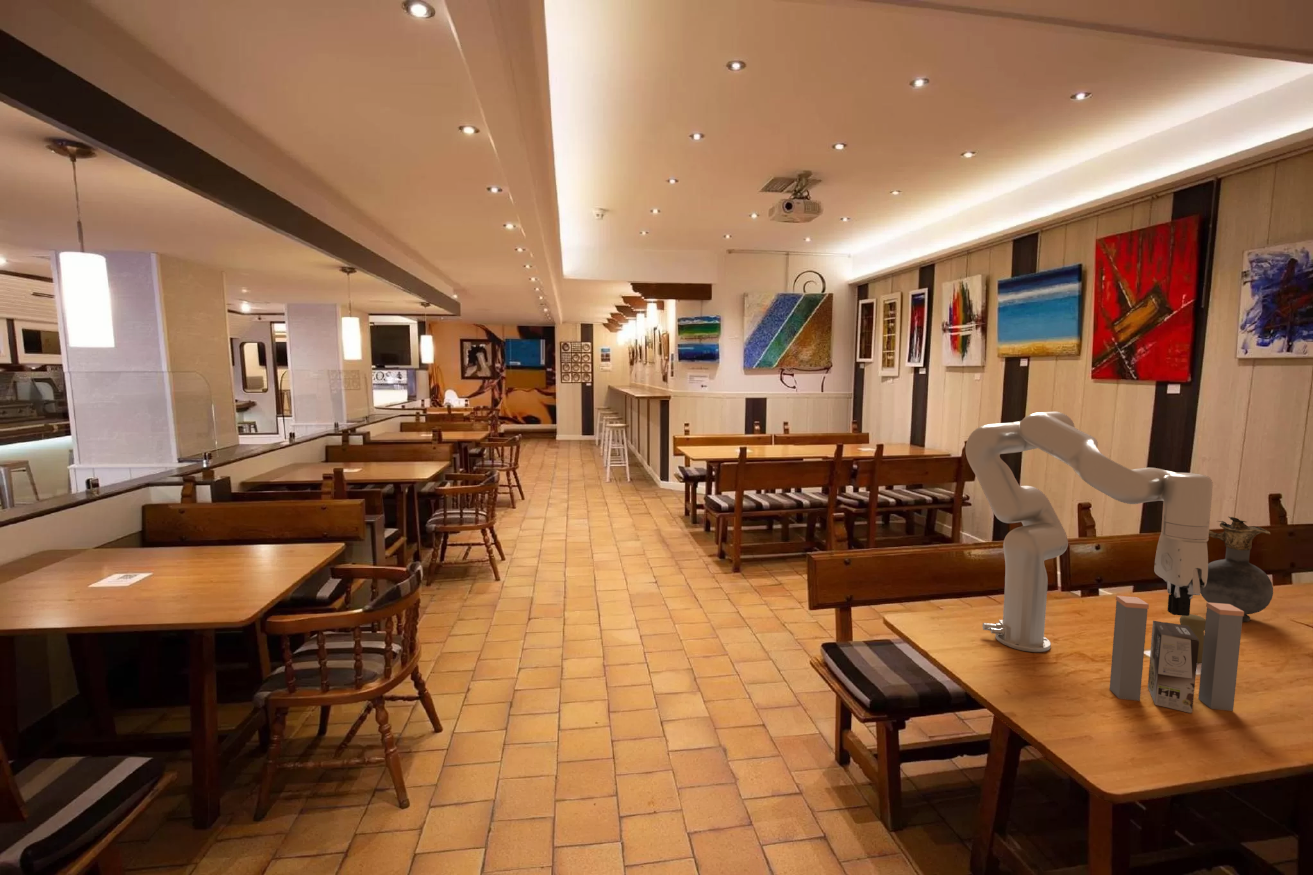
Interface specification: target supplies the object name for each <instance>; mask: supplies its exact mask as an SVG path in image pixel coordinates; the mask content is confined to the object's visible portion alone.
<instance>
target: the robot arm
mask: <svg viewBox="0 0 1313 875" xmlns="http://www.w3.org/2000/svg"><path fill="white" fill-rule="evenodd" d="M1098 446H1099V443H1098V439H1097V438H1096V437H1095V436H1092V435H1091V434H1088V433H1087V432H1084V431H1082V430H1080V429H1078V428H1076V426H1075V423H1074V421H1073V420H1072V419H1071V417H1070V416H1069V415H1067V414H1065V413H1063V412H1059V411H1041V412H1040V411H1039V412H1038V411H1037V412H1034V413H1031V414H1028V415H1026V416H1025V417H1024V418H1022V420H1019V421H1013V422H999V423H998V422H997V423H987V424H983V425H981V426H979V427H977V428H975V429H974V430H973V431H972V432H971V433H970V435H969V437H968V438H967V440H966V444H965V455H966V459H967V462H968V464H969V466H970V468H971V470H972V472H973V473H974V475H975V477H976V479H977V481H978V482H979V485H980V488H981V490H982V491H983V494H984V497H985V499H986V500H987V502H988V504H989V507H990V510H992V513H993V515H994V516H995V517H996V519H997V520H999V521H1000V522H1002V523H1005V524H1016V523H1021V524H1022V526H1019V527H1015V528H1013V529H1012V530H1010V531H1009V532H1008V533H1007V534H1006V535H1005V537H1004V539H1003V543H1002V544H1003V545H1002V548H1003V554H1004V555H1003V556H1004V561H1005V562H1004V565H1005V574H1004V575H1005V576H1004V594H1003V595H1004V596H1003V610H1002V613H1003V614H1002V619H998V622H995V623H990V622H989V623H988V622H982V624H981V625H982V630H983V631H990V633H991V634H995V635H994V636H995V639H996V640H997V641H998V642H999V643H1001V644H1003V646H1004V645H1005V646H1007V647H1009V648H1012V649H1014V650H1019V651H1024V652H1028V653H1029V652H1031V653H1042V652H1043V653H1044V652H1047V651H1049V650H1050V649H1051V648H1052V647H1051V644H1052V643H1051V641H1050V640H1049V639H1048V638H1047V637H1046V636H1045V628H1046V614H1047V612H1046V611H1047V595H1048V573H1047V569H1046V567H1045V561H1046V560H1047V561H1048V560H1050V559H1055V558H1057V557H1059V556H1061V555H1063V554H1064V553H1065V552H1066V551H1067V549H1068V546H1069V541H1068V536H1067V533H1066V531H1065V528H1064V526H1063V524H1062V522H1061V521H1060V519H1059V517H1058V515H1057V513H1056V511H1055V509H1054V507H1053V505H1052V503H1051V501H1050V500H1049V498H1048V497H1047V495H1046V494H1045V493H1044V492H1043V491H1041V490H1040V489H1039V488H1037V487H1035V486H1031V485H1020V484H1019V483H1018V481H1017V479H1016V478H1015V475H1014V473H1013V471H1012V469H1011V468H1010V466H1009V465H1008V464H1007V463H1006V462H1005V461H1004V460H1003V459H1002V458H1001V455H1004V454H1014V453H1020V452H1026V451H1030V450H1035V449H1038V450H1040V451H1042V452H1044V453H1046V454H1048V455H1050V456H1052V457H1053V458H1055V459H1057V460H1058V461H1060V462H1062V463H1064V464H1066V465H1068V466H1069V467H1070V468H1072V470H1073V471H1074V472H1075V474H1076V475H1078V476H1079V478H1080V479H1081V480H1083V482H1084V483H1086V484H1087V485H1090V487H1091V488H1094V489H1096V490H1097V491H1099V492H1101V493H1102V494H1104V495H1106V496H1108V497H1110V498H1112V499H1114V500H1116V501H1118V502H1121V503H1124V504H1129V505H1138V504H1144V503H1150V502H1158V501H1161V502H1162V503H1163V504H1162V517H1161V518H1162V520H1161V529H1160V530H1161V532H1160V534H1159V538H1158V542H1157V545H1156V550H1155V551H1156V553H1155V557H1154V558H1155V559H1154V567H1153V568H1154V569H1153V570H1154V573H1155V575H1156V576H1158V577H1159V578H1161V579H1163V581H1164V582H1166V584H1167V586H1166V587H1167V591H1166V592H1167V594H1168V600H1167V612H1168V613H1170V614H1171V615H1174V616H1189V614H1191V600H1192V599H1193V598H1194V597H1193V596H1200V595H1201V593H1200V588H1204V587H1205V586H1206V583H1207V577H1208V564H1209V554H1208V553H1209V552H1208V541H1209V537H1210V536H1209V531H1210V523H1211V511H1212V509H1211V508H1212V498H1213V497H1212V496H1213V486H1214V485H1213V484H1214V483H1213V479H1212V478H1211V477H1209V476H1208V475H1205V474H1199V473H1193V472H1175V471H1172V470H1165V469H1163V468H1158V467H1157V468H1156V467H1142V468H1134V469H1133V468H1132V469H1131V468H1129V467H1126V466H1124V465H1122V464H1120V463H1118V462H1117V461H1114V460H1112V459H1110V458H1109V457H1107V456H1106V455H1105V454H1103V453H1102V452H1101V451H1100V450H1099V448H1098Z"/></svg>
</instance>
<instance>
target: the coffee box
mask: <svg viewBox="0 0 1313 875" xmlns="http://www.w3.org/2000/svg"><path fill="white" fill-rule="evenodd" d="M1151 629H1152V630H1151V639H1150V652H1149V653H1150V654H1149V655H1150V656H1149V665H1148V666H1149V667H1148V680H1147V689H1148V691H1149V694H1150V696H1151V699H1152V701H1153V703H1154V705H1155V706H1159V707H1164V708H1167V709H1172V710H1177V711H1180V712H1185V713H1188V714H1191V713H1193V706H1194V700H1195V698H1194V697H1195V696H1194V695H1195V686H1196V679H1197V678H1196V676H1197V668H1198V663H1197V660H1198V650H1199V642H1200V641H1199V639H1198V638H1197V637H1196V635H1195V634H1194V633H1193V631H1192V630H1191V629H1190V627H1189V626H1186V625H1181V624H1180V623H1174V622H1173V623H1172V622H1164V621H1157V620H1152V628H1151Z"/></svg>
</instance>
